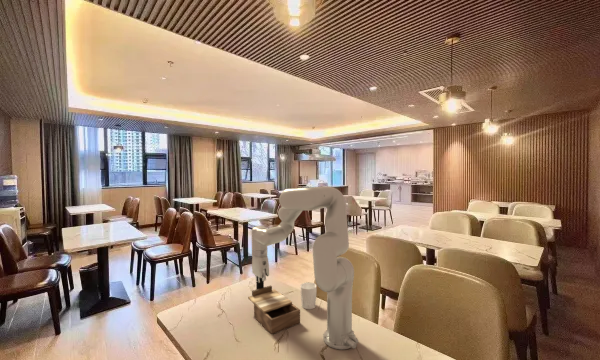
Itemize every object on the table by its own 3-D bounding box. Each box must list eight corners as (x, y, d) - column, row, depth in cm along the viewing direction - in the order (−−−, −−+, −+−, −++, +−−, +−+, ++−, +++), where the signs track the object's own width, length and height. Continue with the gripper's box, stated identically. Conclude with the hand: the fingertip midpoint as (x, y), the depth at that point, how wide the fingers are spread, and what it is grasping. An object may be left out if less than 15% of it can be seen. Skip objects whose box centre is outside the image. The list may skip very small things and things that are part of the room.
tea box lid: (292, 303, 121) (292, 296, 121) (264, 313, 113) (263, 305, 112) (274, 290, 134) (274, 284, 134) (248, 298, 126) (248, 291, 126)
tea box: (300, 323, 116) (300, 309, 116) (271, 334, 108) (271, 320, 107) (281, 308, 129) (280, 295, 129) (254, 317, 121) (253, 304, 121)
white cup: (317, 310, 127) (316, 289, 126) (300, 310, 127) (300, 289, 127) (316, 301, 135) (316, 282, 134) (300, 301, 135) (300, 282, 134)
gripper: (274, 254, 126) (274, 293, 127) (259, 247, 139) (260, 282, 139) (259, 257, 122) (260, 297, 123) (246, 249, 134) (246, 286, 135)
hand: (260, 289), depth 131 cm, fingers closed
